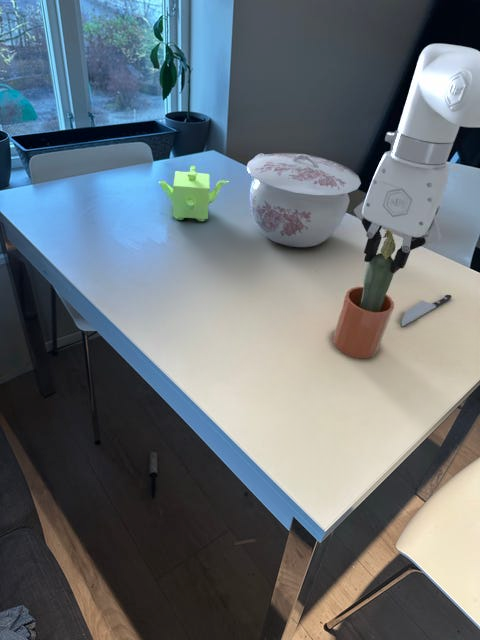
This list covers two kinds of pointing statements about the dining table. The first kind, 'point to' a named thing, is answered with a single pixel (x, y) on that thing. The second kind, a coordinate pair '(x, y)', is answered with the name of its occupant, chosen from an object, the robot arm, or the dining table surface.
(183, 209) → the kettle
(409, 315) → the chef's knife
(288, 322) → the dining table surface
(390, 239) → the vegetable
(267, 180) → the chamber pot
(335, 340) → the cup
